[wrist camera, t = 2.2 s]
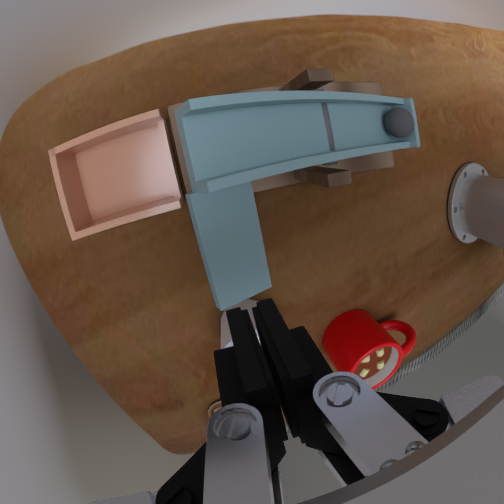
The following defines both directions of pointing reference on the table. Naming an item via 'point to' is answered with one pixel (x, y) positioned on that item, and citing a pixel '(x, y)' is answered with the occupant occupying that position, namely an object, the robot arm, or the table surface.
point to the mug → (366, 346)
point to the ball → (399, 122)
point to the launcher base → (312, 174)
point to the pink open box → (117, 174)
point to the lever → (266, 165)
